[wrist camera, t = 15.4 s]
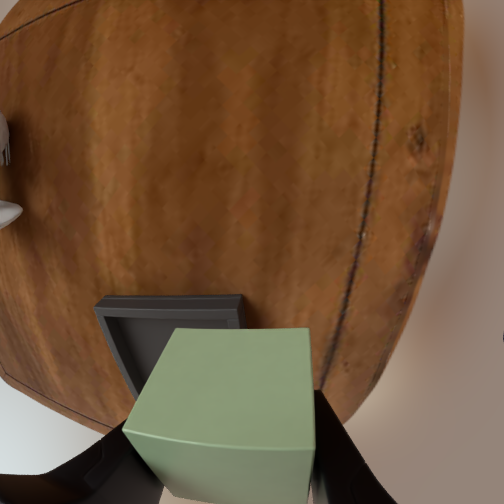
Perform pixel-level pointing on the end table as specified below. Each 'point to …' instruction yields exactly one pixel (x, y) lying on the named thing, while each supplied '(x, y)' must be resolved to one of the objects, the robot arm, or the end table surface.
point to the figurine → (5, 211)
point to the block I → (230, 416)
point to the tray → (159, 326)
